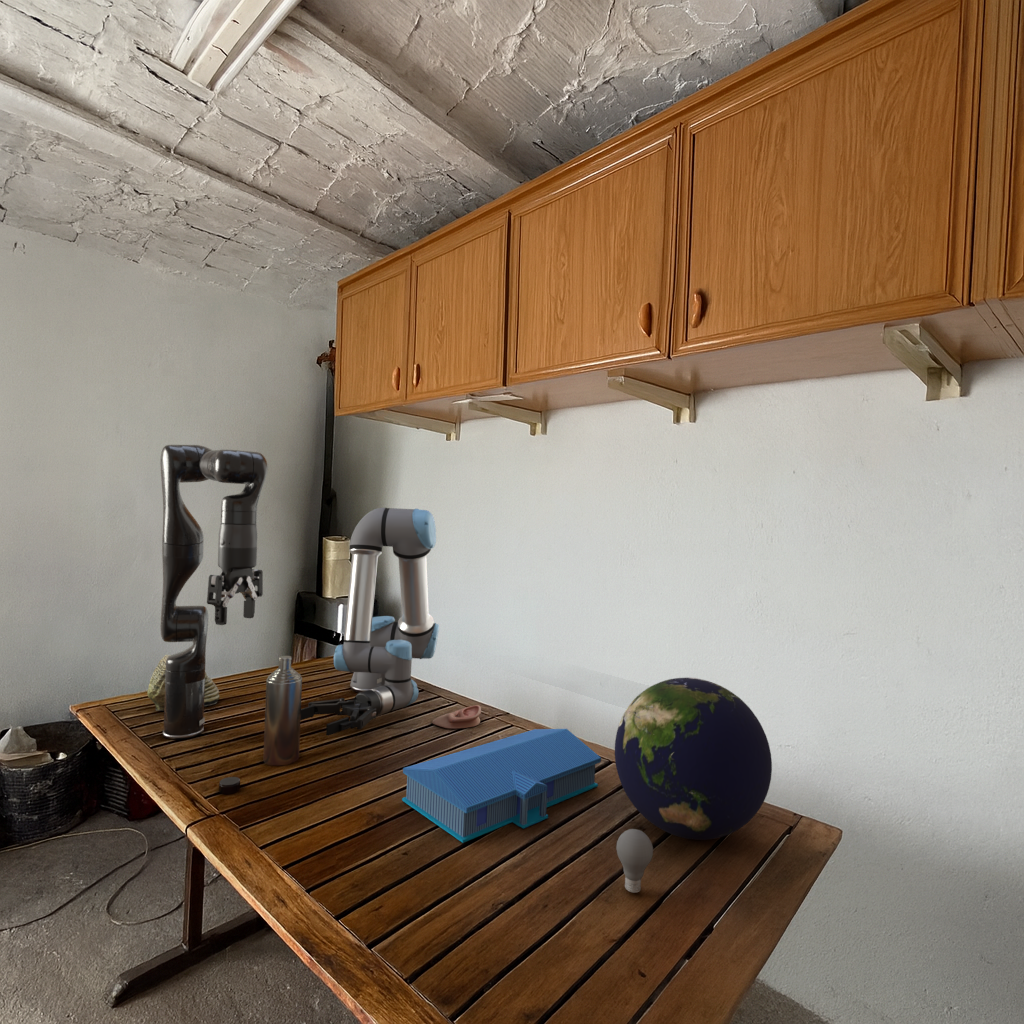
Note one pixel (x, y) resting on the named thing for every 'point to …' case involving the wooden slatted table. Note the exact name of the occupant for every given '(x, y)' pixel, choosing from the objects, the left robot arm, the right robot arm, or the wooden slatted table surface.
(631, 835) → the light bulb
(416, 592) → the right robot arm
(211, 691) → the fossil
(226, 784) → the cap
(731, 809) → the globe
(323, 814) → the wooden slatted table surface
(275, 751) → the bottle
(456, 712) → the anatomical model
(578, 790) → the model building
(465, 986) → the wooden slatted table surface
